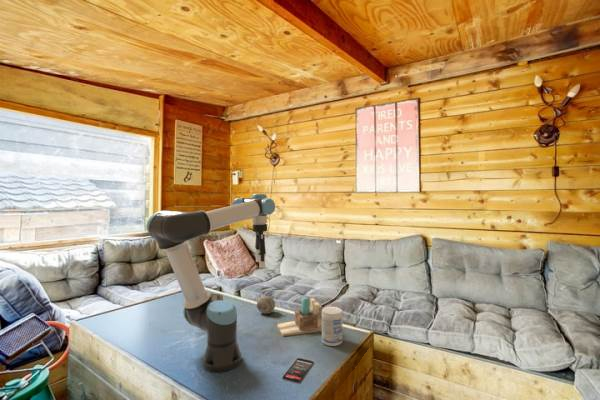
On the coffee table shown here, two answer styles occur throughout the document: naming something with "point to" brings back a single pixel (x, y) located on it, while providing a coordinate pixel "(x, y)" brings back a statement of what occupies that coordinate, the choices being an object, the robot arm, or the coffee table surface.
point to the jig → (293, 329)
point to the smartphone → (298, 370)
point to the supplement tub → (332, 326)
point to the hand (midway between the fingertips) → (260, 264)
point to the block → (305, 320)
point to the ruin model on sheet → (216, 297)
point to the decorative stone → (265, 304)
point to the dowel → (305, 306)
